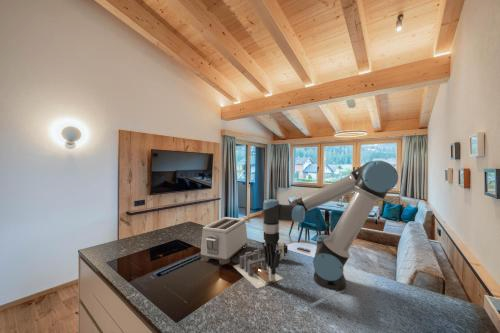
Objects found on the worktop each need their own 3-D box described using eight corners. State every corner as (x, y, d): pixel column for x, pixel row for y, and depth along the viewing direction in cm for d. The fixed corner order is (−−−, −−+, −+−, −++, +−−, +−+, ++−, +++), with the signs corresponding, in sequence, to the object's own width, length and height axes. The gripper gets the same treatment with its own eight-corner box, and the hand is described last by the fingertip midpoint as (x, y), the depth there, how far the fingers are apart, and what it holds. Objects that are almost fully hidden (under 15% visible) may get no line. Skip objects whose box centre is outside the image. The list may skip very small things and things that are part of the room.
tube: (274, 281, 103) (273, 273, 103) (268, 285, 101) (267, 277, 100) (254, 266, 118) (253, 259, 118) (248, 269, 116) (247, 262, 116)
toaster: (197, 262, 128) (196, 229, 128) (225, 243, 159) (224, 216, 159) (224, 268, 120) (223, 232, 120) (248, 246, 152) (247, 218, 152)
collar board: (283, 280, 106) (282, 258, 106) (257, 290, 98) (256, 267, 98) (255, 260, 129) (255, 243, 129) (232, 267, 120) (232, 248, 120)
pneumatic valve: (287, 264, 124) (287, 244, 124) (268, 262, 126) (267, 242, 126) (287, 259, 129) (287, 240, 129) (269, 258, 131) (268, 239, 131)
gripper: (286, 233, 97) (286, 283, 98) (269, 226, 108) (270, 271, 109) (273, 236, 93) (274, 289, 94) (257, 229, 105) (258, 276, 105)
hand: (271, 279), depth 101 cm, fingers closed
